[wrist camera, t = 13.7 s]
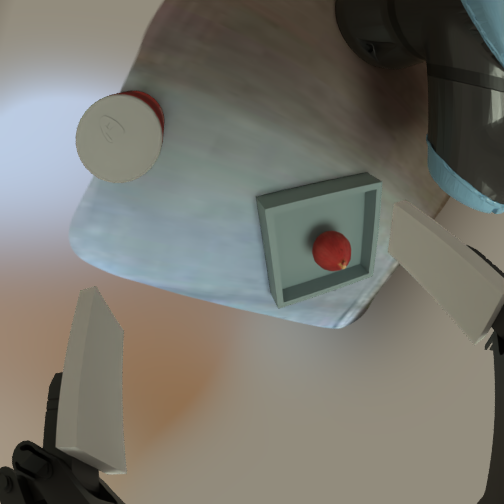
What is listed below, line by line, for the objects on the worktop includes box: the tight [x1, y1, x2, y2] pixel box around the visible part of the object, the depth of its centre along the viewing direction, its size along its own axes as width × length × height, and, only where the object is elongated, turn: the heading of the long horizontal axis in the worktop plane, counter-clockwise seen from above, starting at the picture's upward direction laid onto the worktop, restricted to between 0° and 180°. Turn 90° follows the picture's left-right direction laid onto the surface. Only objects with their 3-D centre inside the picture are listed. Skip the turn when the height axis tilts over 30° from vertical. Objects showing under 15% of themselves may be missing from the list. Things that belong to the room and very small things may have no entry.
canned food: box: [76, 91, 164, 183], centre depth 26 cm, size 8×8×11 cm
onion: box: [312, 231, 351, 271], centre depth 42 cm, size 6×6×8 cm
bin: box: [256, 173, 382, 309], centre depth 45 cm, size 18×18×4 cm
